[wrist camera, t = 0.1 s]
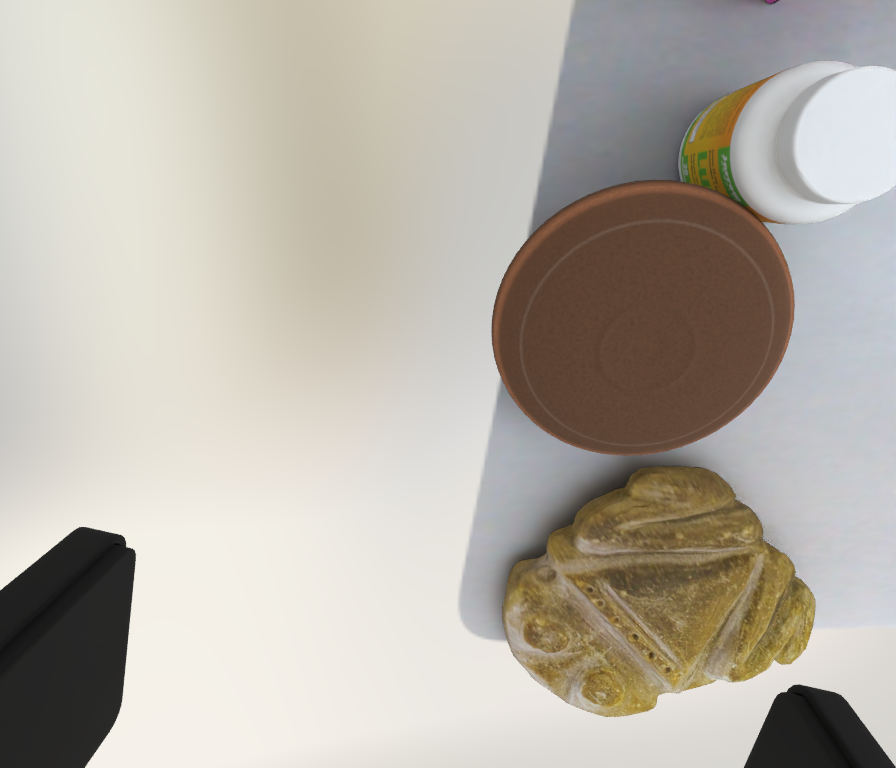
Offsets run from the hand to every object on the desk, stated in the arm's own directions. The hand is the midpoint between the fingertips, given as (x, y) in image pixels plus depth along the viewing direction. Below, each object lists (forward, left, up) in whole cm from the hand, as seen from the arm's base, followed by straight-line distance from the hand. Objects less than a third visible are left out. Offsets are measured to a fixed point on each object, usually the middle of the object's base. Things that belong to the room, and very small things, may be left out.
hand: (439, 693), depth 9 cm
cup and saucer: (-3, +7, -17) cm, 18 cm away
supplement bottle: (-11, +10, -24) cm, 28 cm away
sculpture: (+5, +17, -22) cm, 28 cm away
